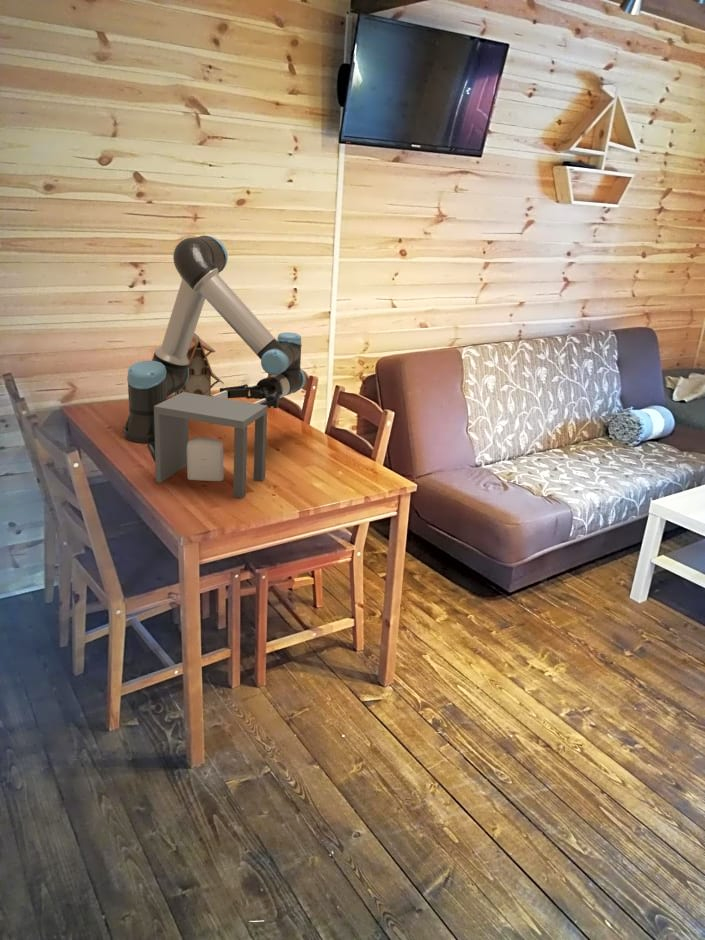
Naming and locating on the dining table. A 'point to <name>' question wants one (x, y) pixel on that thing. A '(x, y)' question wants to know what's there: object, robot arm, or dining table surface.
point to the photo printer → (205, 459)
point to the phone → (152, 449)
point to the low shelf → (211, 410)
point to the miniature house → (199, 369)
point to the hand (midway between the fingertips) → (232, 404)
